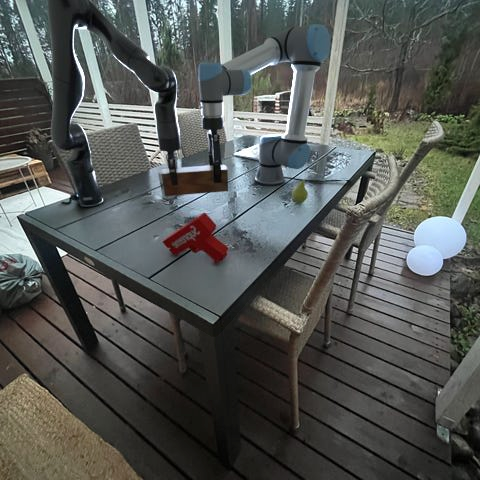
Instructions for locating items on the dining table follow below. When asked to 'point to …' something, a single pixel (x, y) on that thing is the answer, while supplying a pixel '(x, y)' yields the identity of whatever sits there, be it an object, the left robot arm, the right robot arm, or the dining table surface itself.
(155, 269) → the dining table surface
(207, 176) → the bar
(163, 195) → the ink box
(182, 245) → the toy gun
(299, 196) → the fruit
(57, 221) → the dining table surface
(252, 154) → the white printed flat box
